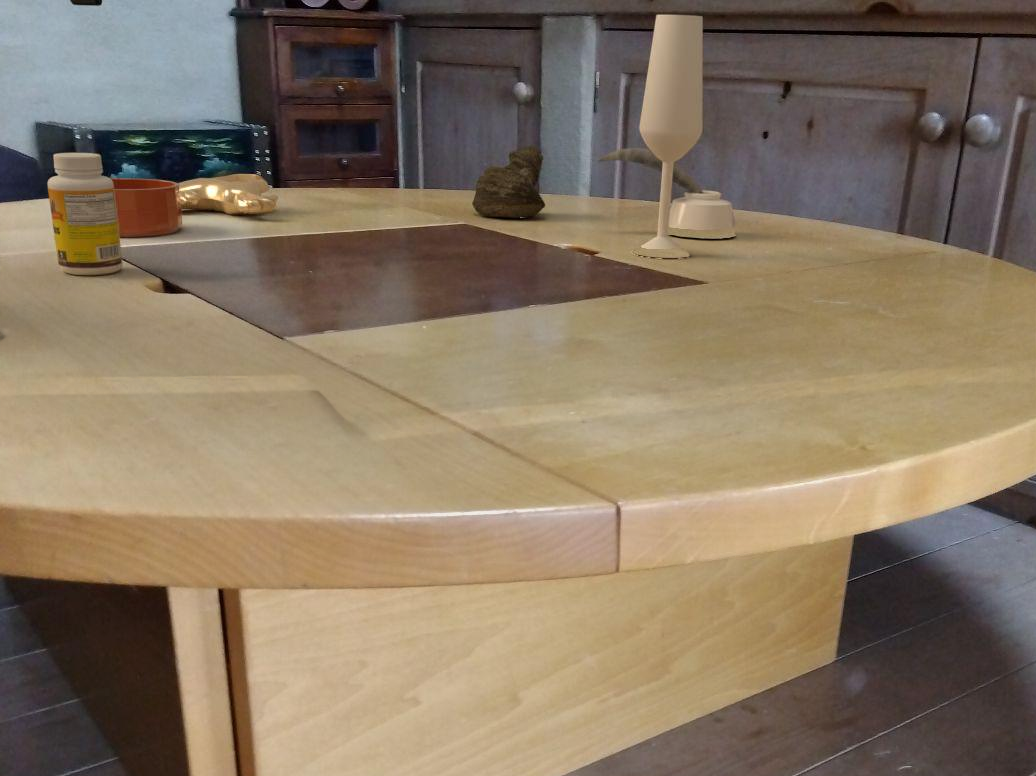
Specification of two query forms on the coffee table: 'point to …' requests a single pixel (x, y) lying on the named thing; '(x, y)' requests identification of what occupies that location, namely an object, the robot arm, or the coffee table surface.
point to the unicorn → (228, 194)
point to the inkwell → (697, 204)
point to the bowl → (147, 207)
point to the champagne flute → (672, 103)
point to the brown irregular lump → (511, 187)
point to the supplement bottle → (84, 215)
